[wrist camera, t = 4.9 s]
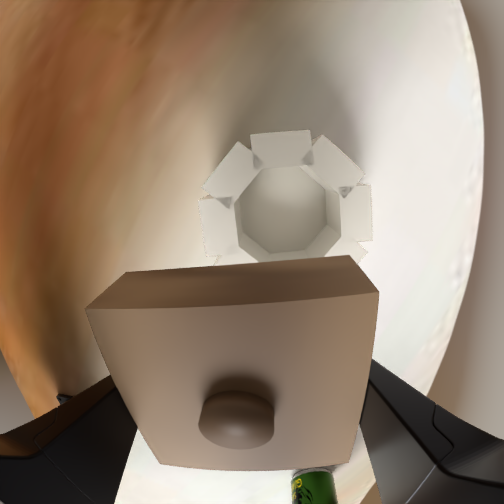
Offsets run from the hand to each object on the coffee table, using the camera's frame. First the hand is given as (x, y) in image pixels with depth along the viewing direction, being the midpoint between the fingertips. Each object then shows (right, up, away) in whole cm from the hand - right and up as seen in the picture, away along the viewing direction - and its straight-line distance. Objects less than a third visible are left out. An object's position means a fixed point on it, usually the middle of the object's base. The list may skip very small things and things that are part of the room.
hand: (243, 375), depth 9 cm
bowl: (+2, +7, +10) cm, 12 cm away
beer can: (+8, -24, +19) cm, 32 cm away
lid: (0, 0, +1) cm, 1 cm away
